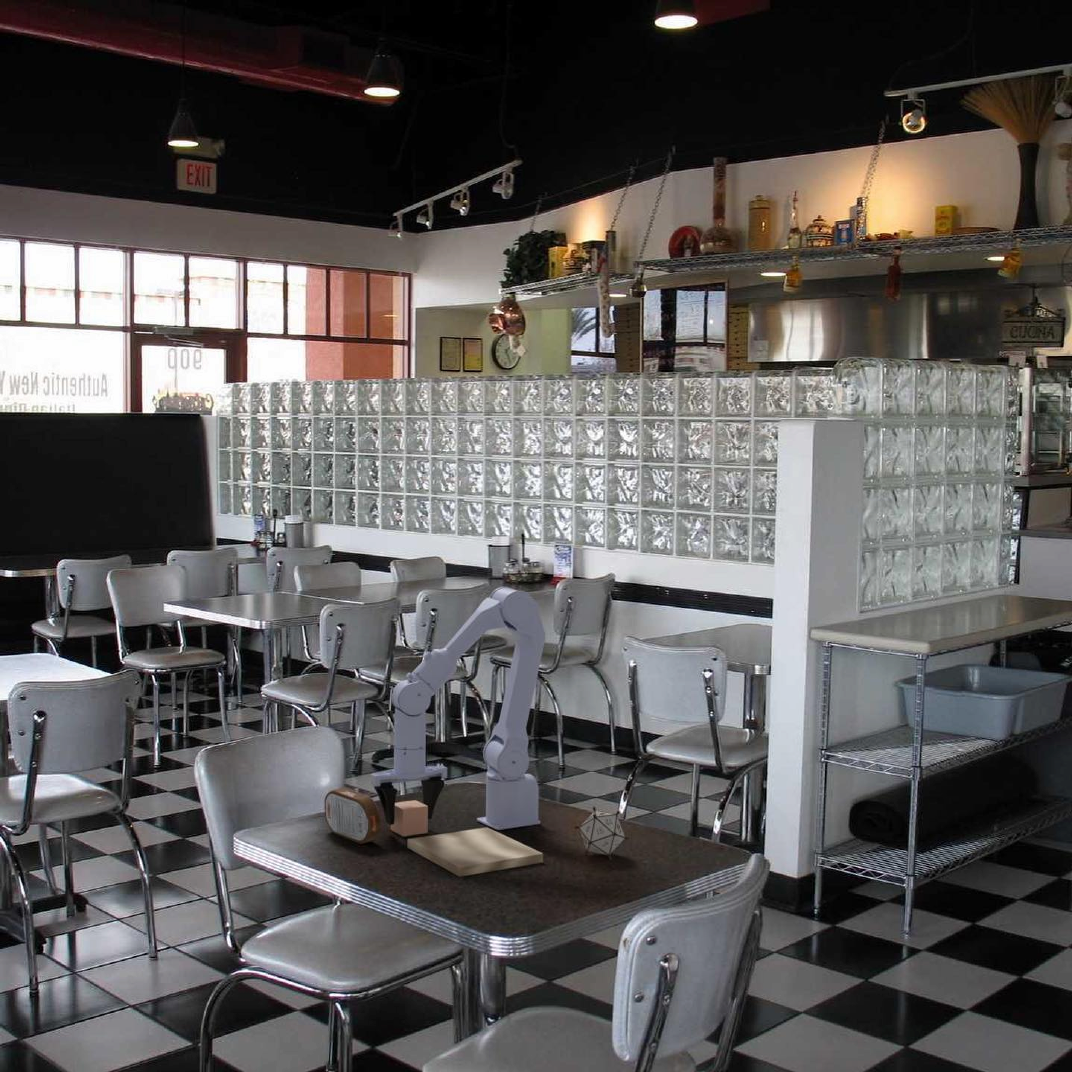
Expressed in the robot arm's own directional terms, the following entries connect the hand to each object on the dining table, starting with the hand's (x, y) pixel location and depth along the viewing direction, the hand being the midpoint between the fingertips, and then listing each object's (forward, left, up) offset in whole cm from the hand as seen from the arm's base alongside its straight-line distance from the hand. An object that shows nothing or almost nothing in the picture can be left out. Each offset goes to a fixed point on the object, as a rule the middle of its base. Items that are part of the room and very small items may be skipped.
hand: (408, 820), depth 239 cm
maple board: (-3, +19, -2) cm, 19 cm away
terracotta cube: (0, 0, -2) cm, 2 cm away
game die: (-22, +30, -2) cm, 37 cm away
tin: (+11, -1, -2) cm, 11 cm away
